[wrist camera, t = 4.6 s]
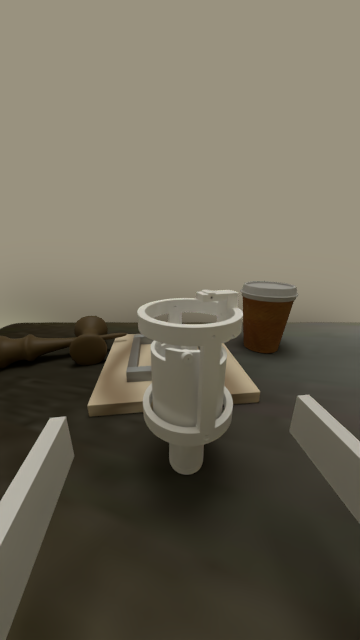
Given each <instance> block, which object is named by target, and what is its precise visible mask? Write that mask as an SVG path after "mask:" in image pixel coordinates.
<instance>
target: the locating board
mask: <svg viewBox="0 0 360 640" xmlns="http://www.w3.org/2000/svg"><path fill="white" fill-rule="evenodd" d="M153 341H154V340H151V339H149V338H147V337H145V336H144V335H143V334H128V335H126V336H123V337H119V338H115V341H114V343H113V346H112V348H111V350H110V353H109V355H108V358H107V360H106V362H105V365H104V367H103V370H102V372H101V374H100V377H99V379H98V382H97V384H96V386H95V389H94V391H93V394H92V396H91V398H90V401H89V403H88V412H89V417H91V416H103V415H115V414H126V413H138V412H143V396H144V393H145V391H146V389H147V388H148V386H149V385H150V384H151V383H152V371H151V343H152V342H153ZM161 344H163V343H161ZM222 346H223V347H224V348H225V350H226V352H227V361H226V372H225V383H224V386H225V387H226V388H227V389H228V391H229V392H230V394H231V396H232V400H233V404H242V403H254V402H259V398H260V391H259V389H258V388H257V387H256V386H255V384H254V383H253V382H252V380H251V379H250V378H249V376H248V375H247V374H246V372H245V371H244V370H243V368H242V367H241V366H240V364H239V363H238V362H237V361H236V359H235V358H234V357H233V355H232V354H231V353H230V351H229V350H228V349H227V347H226V346H225V345H224V343H222ZM197 350H200V346H197ZM150 407H151V409H152V411H153V401H152V403H151V405H150Z"/></svg>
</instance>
